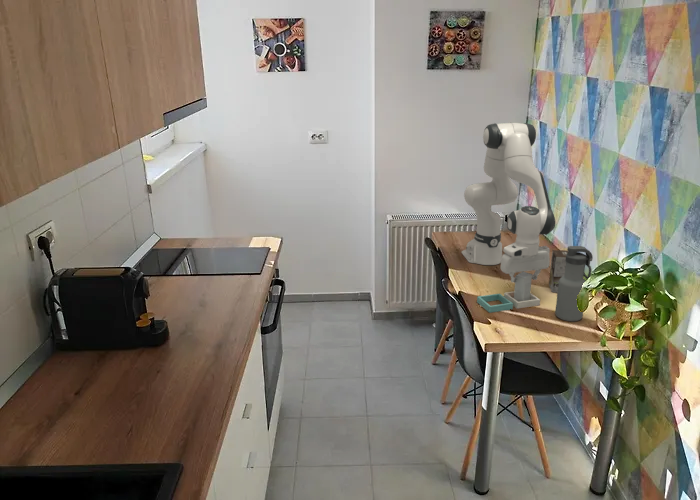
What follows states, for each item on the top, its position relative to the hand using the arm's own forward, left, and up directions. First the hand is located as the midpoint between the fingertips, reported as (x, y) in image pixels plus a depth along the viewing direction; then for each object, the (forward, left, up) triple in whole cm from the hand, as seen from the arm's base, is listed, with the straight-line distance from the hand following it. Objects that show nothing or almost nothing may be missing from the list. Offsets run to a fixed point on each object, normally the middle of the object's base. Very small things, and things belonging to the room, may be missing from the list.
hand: (523, 280), depth 216 cm
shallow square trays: (0, -6, -9) cm, 11 cm away
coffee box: (-7, +22, -10) cm, 25 cm away
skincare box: (0, 0, -10) cm, 10 cm away
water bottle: (+17, +10, -10) cm, 22 cm away
